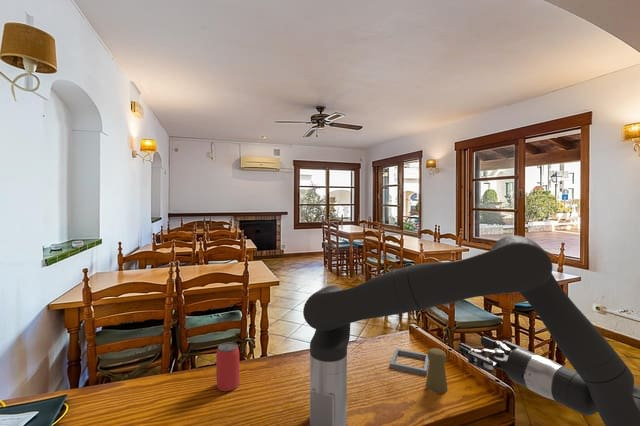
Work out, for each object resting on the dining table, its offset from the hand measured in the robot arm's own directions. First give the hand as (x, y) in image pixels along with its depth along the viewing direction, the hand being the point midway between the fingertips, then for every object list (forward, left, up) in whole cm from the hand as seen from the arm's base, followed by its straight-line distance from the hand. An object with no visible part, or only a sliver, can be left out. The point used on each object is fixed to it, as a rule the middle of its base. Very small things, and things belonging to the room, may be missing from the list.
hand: (470, 343), depth 82 cm
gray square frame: (+18, +18, -18) cm, 31 cm away
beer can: (-17, +66, -18) cm, 70 cm away
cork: (+7, +9, -18) cm, 21 cm away
